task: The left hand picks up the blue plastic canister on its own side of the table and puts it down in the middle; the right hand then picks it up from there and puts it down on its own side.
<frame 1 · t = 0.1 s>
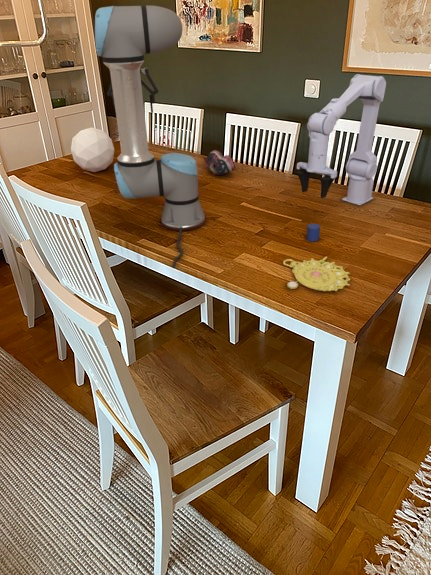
left hand: (135, 113, 181), 28 cm above the table, tool pointing down, fingers open, 13 cm apart
right hand: (314, 194, 148), 10 cm above the table, tool pointing down, fingers open, 7 cm apart
sphere: (96, 170, 209), on the table
decorative object: (315, 275, 123), on the table
canister: (312, 238, 142), on the table
athletic shoe: (216, 172, 201), on the table
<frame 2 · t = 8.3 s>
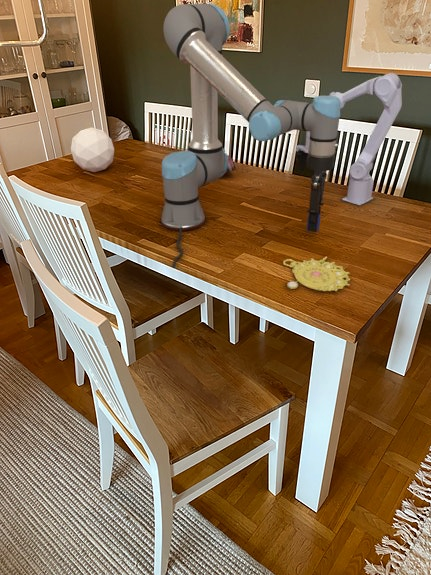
left hand: (313, 228, 140), 4 cm above the table, tool pointing down, fingers closed on canister, 4 cm apart
right hand: (310, 172, 173), 8 cm above the table, tool pointing down, fingers open, 7 cm apart
canister: (312, 228, 141), point 3 cm above the table, touching left hand
everything else where it was.
when the left hand's fingers open (0 cm above the table, at t = 11.1 s): canister stays where it is, on the table.
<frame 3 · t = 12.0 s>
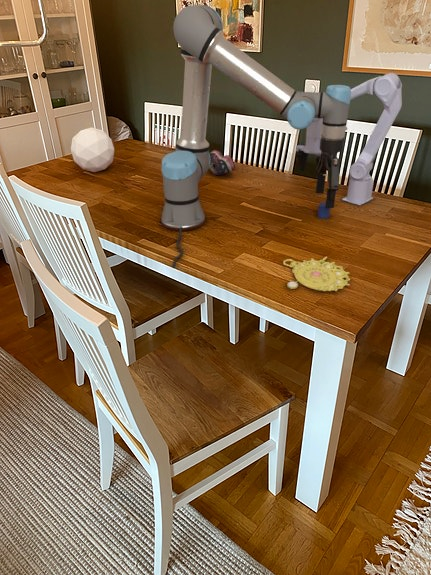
left hand: (324, 200, 154), 6 cm above the table, tool pointing down, fingers open, 13 cm apart
right hand: (310, 172, 173), 8 cm above the table, tool pointing down, fingers open, 7 cm apart
canister: (323, 216, 157), on the table
everything else where it was.
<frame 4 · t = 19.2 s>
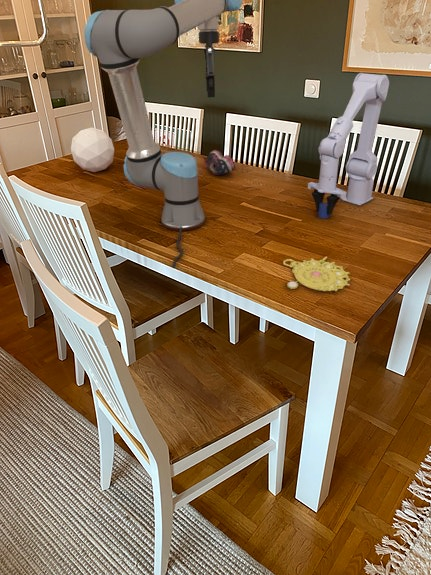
left hand: (210, 94, 171), 35 cm above the table, tool pointing down, fingers open, 13 cm apart
right hand: (324, 212, 156), 1 cm above the table, tool pointing down, fingers closed on canister, 4 cm apart
canister: (323, 216, 157), on the table, touching right hand
everything else where it was.
when the right hand's fingers open (2 cm above the table, at t = 23.5 s): canister stays where it is, on the table.
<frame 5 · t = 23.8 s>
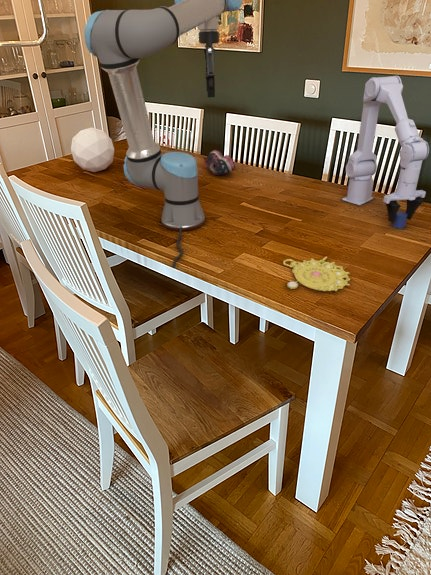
left hand: (210, 94, 171), 35 cm above the table, tool pointing down, fingers open, 13 cm apart
right hand: (399, 220, 148), 2 cm above the table, tool pointing down, fingers open, 6 cm apart
canister: (398, 226, 149), on the table
everything else where it was.
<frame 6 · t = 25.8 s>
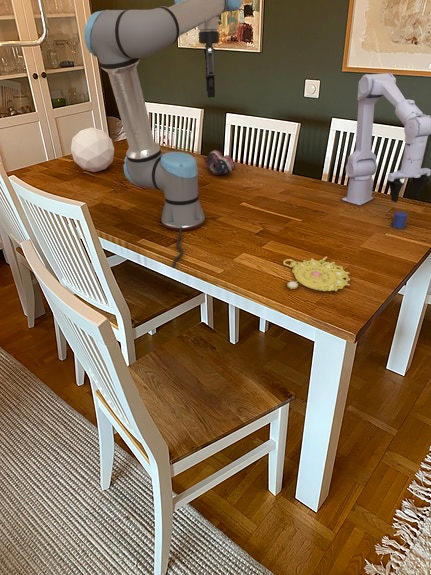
left hand: (210, 94, 171), 35 cm above the table, tool pointing down, fingers open, 13 cm apart
right hand: (404, 199, 144), 9 cm above the table, tool pointing down, fingers open, 7 cm apart
nothing on the table moved.
at the end: canister inside the target area (0.2 cm from its centre), on the table; canister tilted 0°; the two hands never held the canister at the same time; the left hand is holding nothing; the right hand is holding nothing; canister at rest at the end (0.0 cm/s) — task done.
